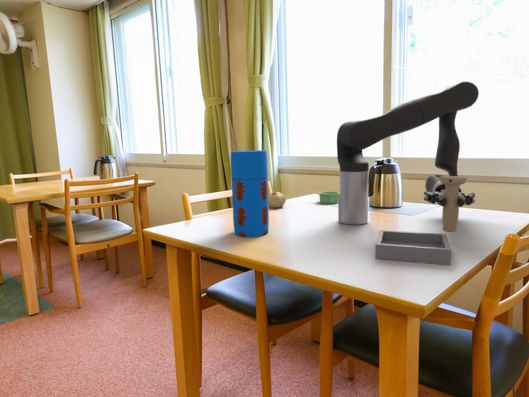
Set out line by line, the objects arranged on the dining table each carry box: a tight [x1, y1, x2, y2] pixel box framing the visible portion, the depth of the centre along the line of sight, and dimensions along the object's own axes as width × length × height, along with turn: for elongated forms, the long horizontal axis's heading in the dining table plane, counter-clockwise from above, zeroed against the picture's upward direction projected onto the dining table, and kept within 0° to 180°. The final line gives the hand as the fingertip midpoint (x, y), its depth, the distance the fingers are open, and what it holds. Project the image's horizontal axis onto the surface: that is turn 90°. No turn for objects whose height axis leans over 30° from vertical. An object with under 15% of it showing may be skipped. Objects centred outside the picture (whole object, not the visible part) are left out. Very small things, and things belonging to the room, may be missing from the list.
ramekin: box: [318, 190, 340, 205], centre depth 164 cm, size 9×9×4 cm
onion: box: [268, 191, 286, 209], centre depth 156 cm, size 8×8×7 cm
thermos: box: [230, 149, 270, 238], centre depth 114 cm, size 11×11×25 cm
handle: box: [440, 175, 467, 233], centre depth 103 cm, size 5×6×15 cm
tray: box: [375, 229, 452, 266], centre depth 93 cm, size 16×14×4 cm
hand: (452, 202), depth 100 cm, fingers closed on handle, 3 cm apart
